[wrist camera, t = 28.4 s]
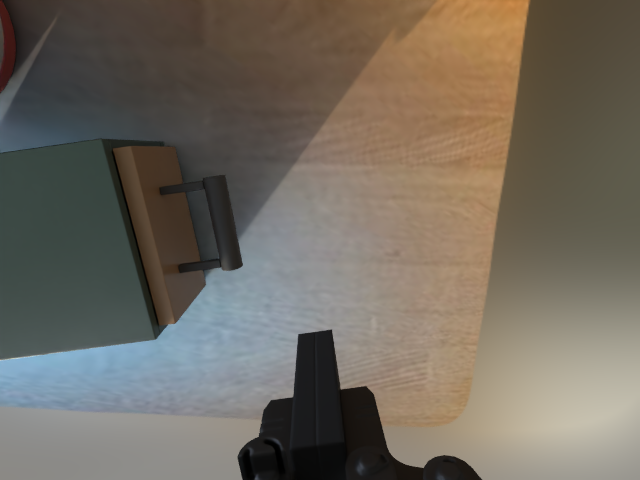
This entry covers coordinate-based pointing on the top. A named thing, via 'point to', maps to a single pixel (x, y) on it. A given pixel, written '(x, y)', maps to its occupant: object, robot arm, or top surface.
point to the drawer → (173, 226)
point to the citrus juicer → (6, 47)
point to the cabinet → (69, 253)
